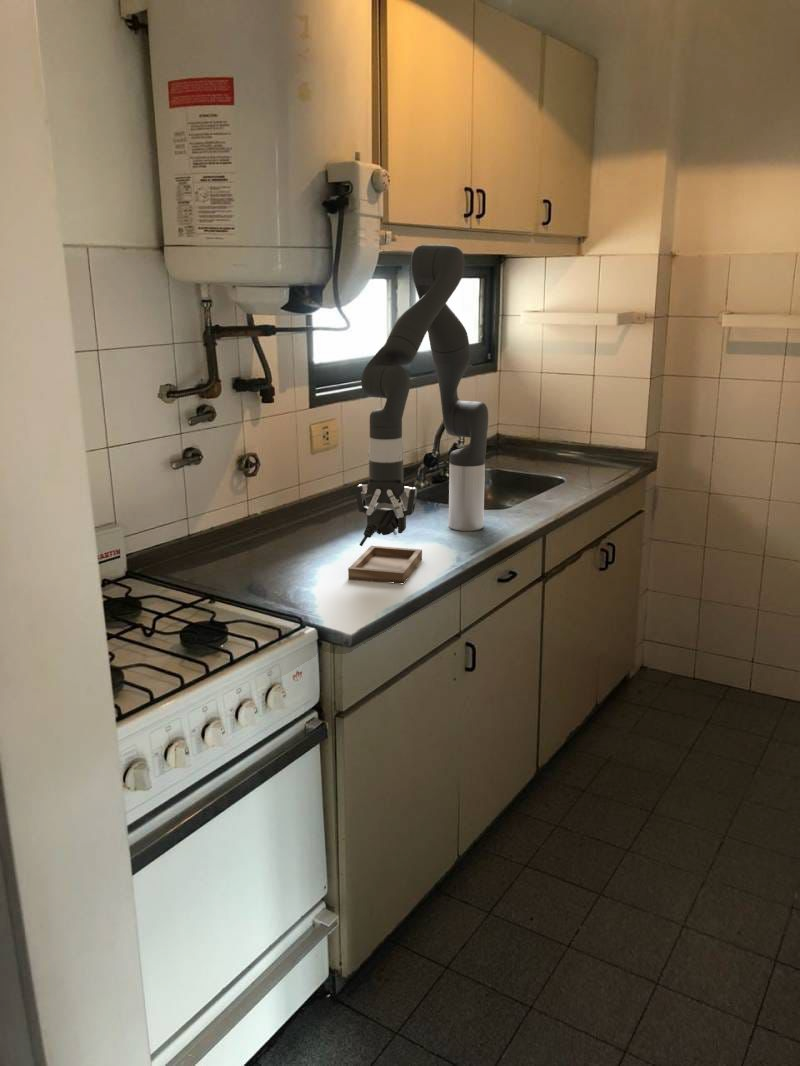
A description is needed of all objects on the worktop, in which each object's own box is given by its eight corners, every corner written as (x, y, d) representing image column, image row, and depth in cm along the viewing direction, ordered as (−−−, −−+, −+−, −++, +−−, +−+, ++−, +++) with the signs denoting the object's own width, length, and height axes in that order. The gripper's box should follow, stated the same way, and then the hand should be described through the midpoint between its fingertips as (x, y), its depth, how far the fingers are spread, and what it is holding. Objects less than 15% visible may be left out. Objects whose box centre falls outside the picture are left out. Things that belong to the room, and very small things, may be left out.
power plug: (348, 540, 183) (375, 499, 189) (361, 562, 188) (386, 522, 194) (370, 544, 180) (396, 503, 186) (382, 566, 185) (407, 525, 191)
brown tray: (371, 555, 202) (371, 545, 201) (422, 559, 199) (422, 549, 198) (348, 579, 186) (348, 568, 185) (403, 584, 183) (403, 573, 182)
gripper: (422, 455, 187) (421, 529, 192) (359, 452, 190) (360, 525, 195) (413, 462, 180) (413, 538, 185) (349, 459, 183) (350, 534, 188)
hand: (386, 531), depth 190 cm, fingers closed on power plug, 6 cm apart
